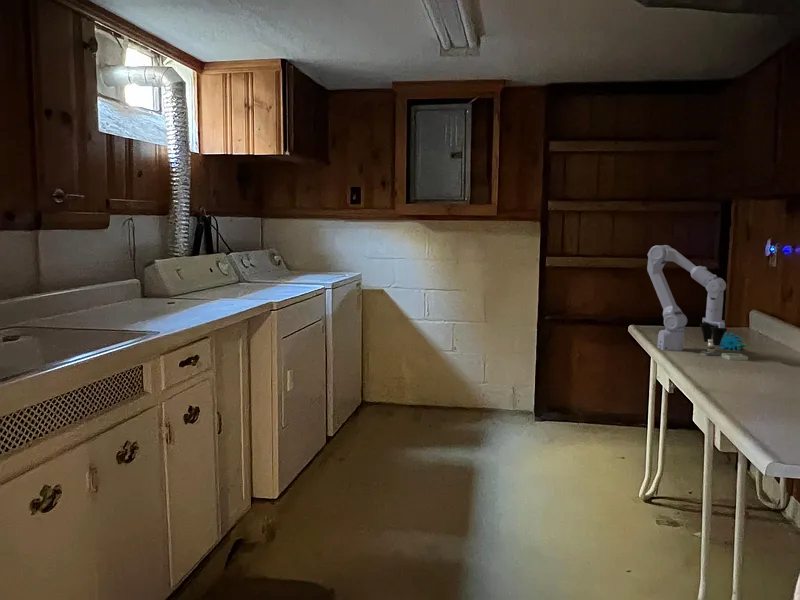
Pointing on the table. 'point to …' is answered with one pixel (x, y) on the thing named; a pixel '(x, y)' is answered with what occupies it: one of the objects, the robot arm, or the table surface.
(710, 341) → the cylinder
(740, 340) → the gear
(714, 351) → the grey square holder
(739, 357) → the parts tray
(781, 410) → the table surface
